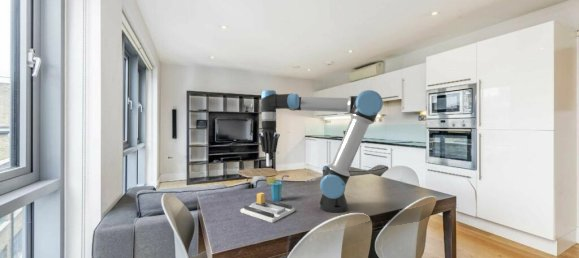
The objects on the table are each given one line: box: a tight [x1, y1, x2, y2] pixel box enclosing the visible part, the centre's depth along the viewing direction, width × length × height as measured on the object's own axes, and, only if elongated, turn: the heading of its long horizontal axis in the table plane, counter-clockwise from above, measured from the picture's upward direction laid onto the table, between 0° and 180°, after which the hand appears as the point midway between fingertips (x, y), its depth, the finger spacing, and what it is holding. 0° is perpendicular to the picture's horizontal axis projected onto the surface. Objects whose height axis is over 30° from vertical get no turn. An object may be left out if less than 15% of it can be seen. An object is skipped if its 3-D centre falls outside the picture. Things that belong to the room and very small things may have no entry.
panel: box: [240, 198, 296, 223], centre depth 123 cm, size 22×18×3 cm
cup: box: [265, 174, 290, 202], centre depth 142 cm, size 14×8×15 cm, turn 104°
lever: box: [255, 192, 266, 207], centre depth 126 cm, size 4×3×7 cm
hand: (269, 165), depth 122 cm, fingers closed
